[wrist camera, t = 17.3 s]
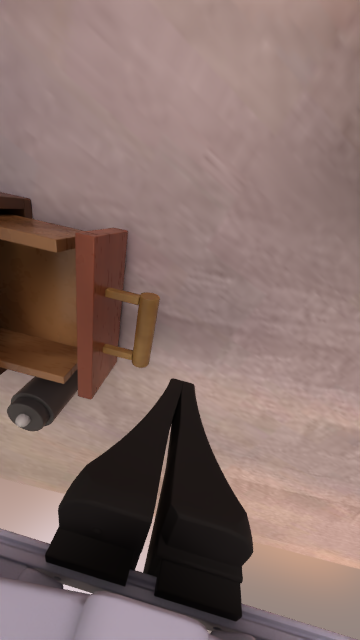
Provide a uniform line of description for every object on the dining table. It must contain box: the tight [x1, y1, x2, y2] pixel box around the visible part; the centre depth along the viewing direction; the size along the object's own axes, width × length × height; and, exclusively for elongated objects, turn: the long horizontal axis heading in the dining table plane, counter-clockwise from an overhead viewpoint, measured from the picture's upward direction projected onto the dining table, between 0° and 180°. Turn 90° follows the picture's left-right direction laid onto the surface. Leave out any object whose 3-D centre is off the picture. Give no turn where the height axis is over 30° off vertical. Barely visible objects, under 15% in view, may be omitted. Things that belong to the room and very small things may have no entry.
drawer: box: [0, 212, 160, 399], centre depth 18 cm, size 16×13×5 cm
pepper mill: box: [7, 369, 78, 431], centre depth 23 cm, size 4×4×7 cm
